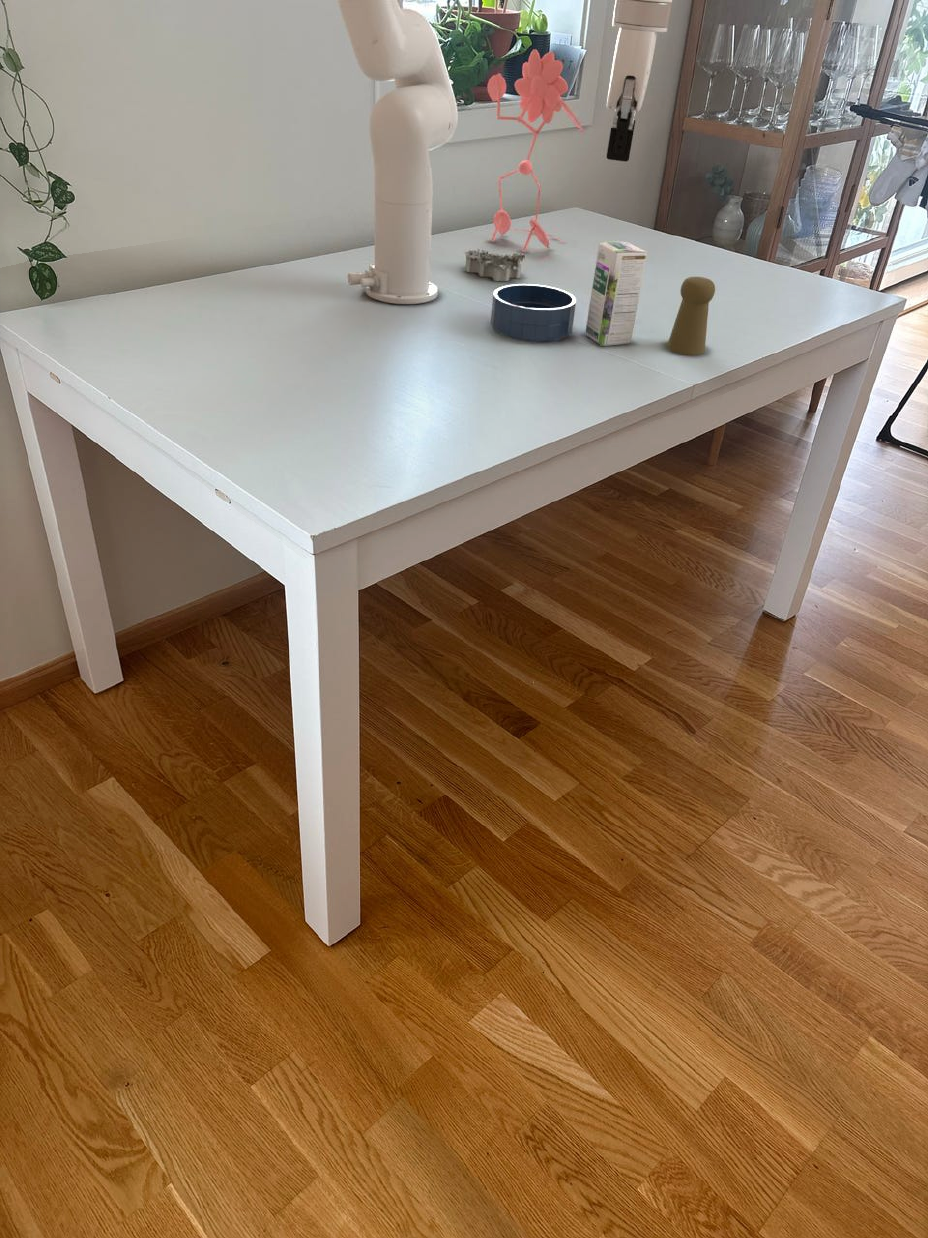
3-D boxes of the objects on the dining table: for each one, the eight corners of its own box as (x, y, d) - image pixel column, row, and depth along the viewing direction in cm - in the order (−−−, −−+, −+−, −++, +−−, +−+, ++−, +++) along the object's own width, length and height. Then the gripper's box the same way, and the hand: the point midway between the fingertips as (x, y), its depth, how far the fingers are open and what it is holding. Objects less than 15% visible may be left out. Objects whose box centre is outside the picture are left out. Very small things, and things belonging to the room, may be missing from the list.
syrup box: (583, 334, 152) (596, 241, 144) (614, 332, 154) (629, 240, 146) (601, 346, 148) (615, 251, 140) (632, 343, 150) (649, 249, 142)
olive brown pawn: (704, 357, 147) (720, 286, 141) (666, 352, 148) (680, 281, 142) (704, 344, 152) (719, 275, 146) (667, 339, 153) (680, 270, 146)
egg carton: (526, 277, 177) (528, 255, 175) (498, 283, 173) (500, 260, 170) (485, 263, 183) (487, 241, 181) (458, 269, 179) (459, 246, 176)
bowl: (516, 348, 145) (520, 313, 142) (476, 321, 154) (478, 287, 151) (587, 339, 151) (592, 305, 147) (544, 314, 160) (548, 281, 157)
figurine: (551, 262, 186) (574, 59, 166) (461, 233, 201) (471, 43, 180) (599, 251, 196) (626, 57, 175) (509, 224, 210) (525, 42, 189)
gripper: (616, 10, 135) (596, 141, 145) (610, 16, 121) (589, 161, 131) (668, 15, 134) (645, 147, 144) (669, 23, 120) (643, 168, 130)
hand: (618, 153), depth 137 cm, fingers open, 9 cm apart
